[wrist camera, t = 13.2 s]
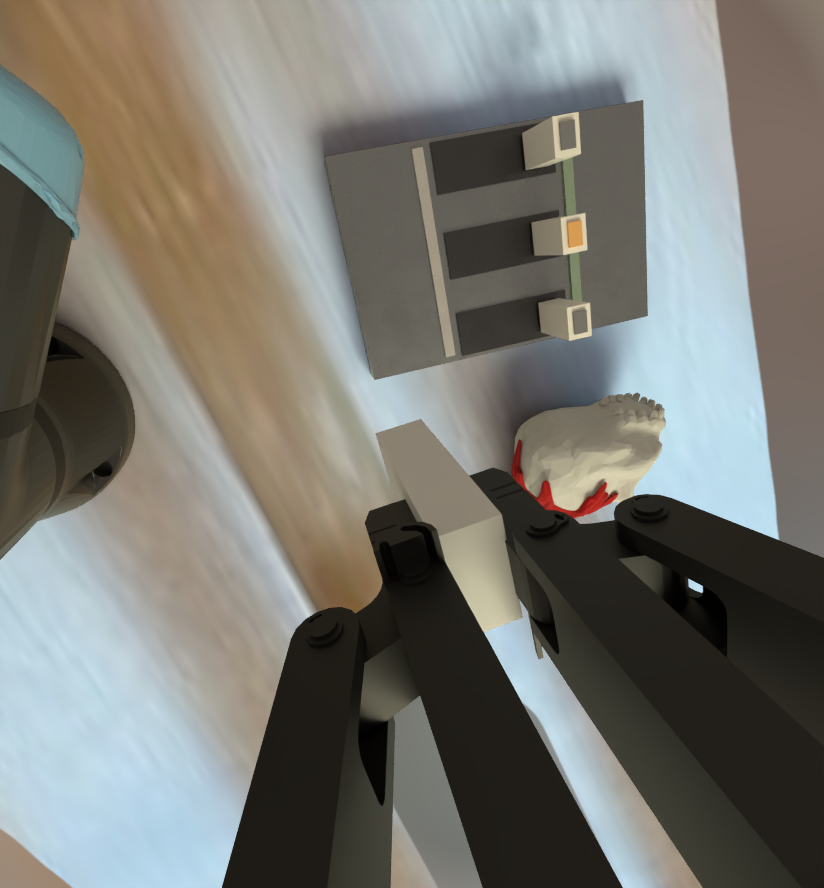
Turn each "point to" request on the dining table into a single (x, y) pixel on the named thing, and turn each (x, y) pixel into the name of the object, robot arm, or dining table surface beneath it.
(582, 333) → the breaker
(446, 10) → the dining table surface
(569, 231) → the breaker mid
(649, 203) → the dining table surface
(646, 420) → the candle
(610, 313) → the panel
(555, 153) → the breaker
